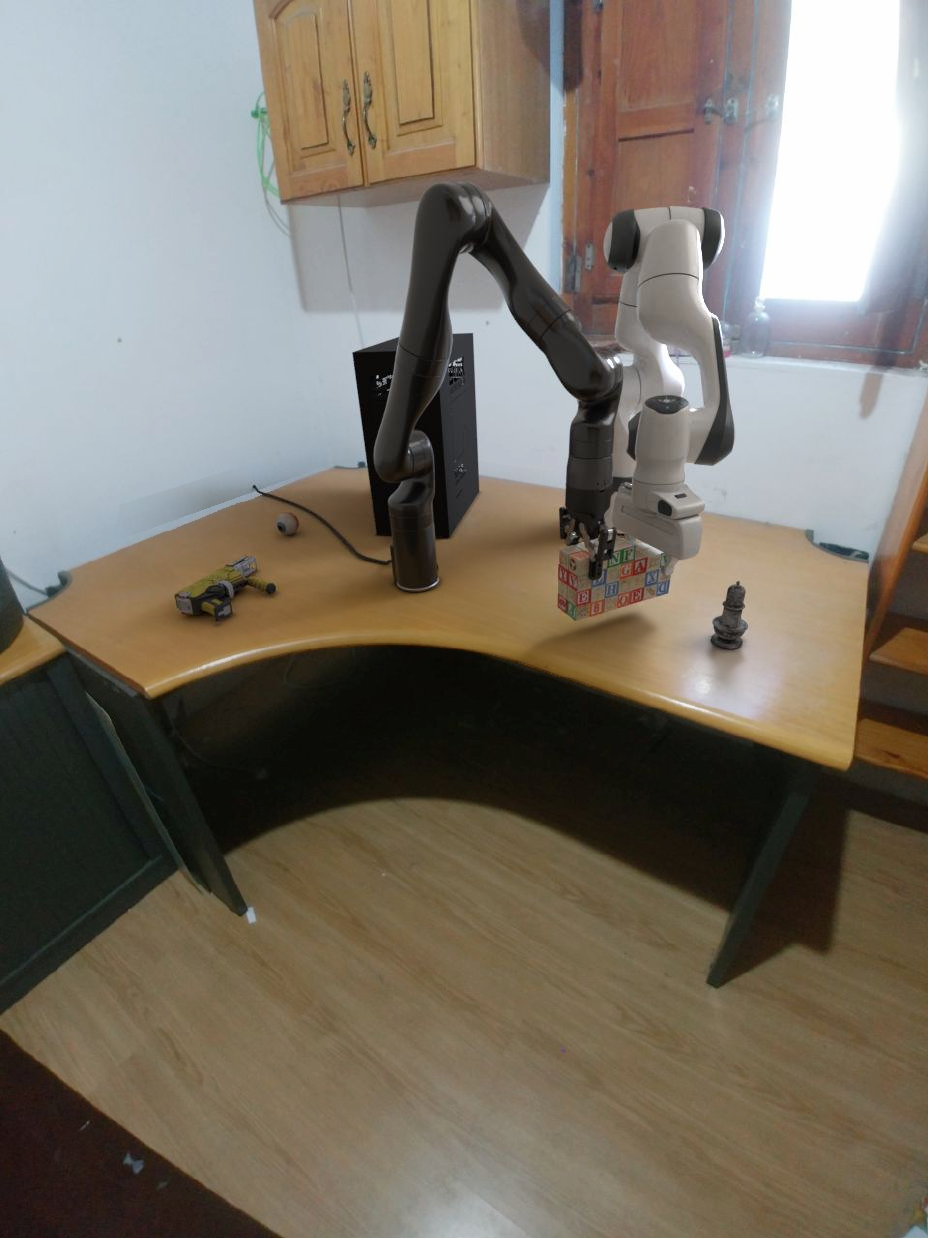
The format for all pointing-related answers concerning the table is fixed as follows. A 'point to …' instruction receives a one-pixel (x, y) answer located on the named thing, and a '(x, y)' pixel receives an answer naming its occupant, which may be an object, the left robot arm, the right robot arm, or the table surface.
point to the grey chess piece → (731, 619)
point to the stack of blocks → (609, 578)
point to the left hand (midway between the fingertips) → (583, 571)
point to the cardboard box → (426, 431)
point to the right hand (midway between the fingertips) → (649, 564)
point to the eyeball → (287, 523)
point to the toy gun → (220, 589)
